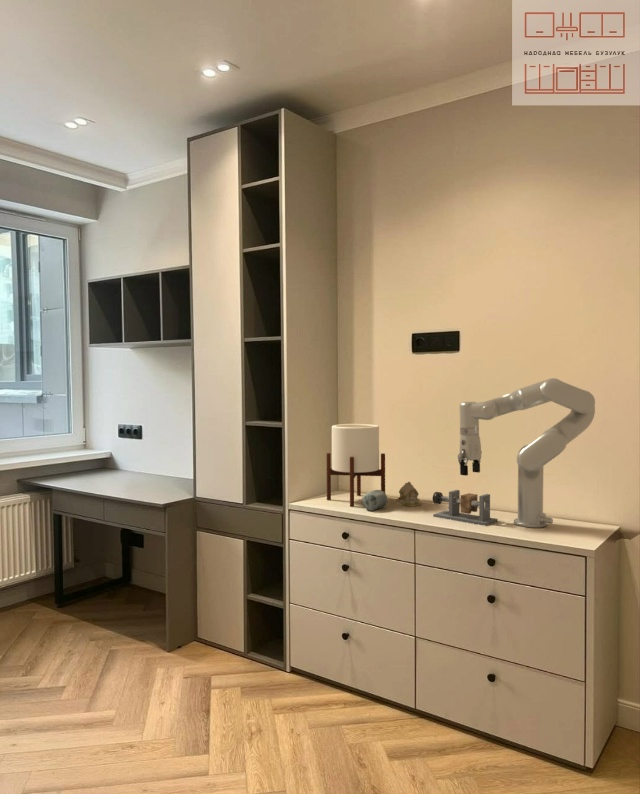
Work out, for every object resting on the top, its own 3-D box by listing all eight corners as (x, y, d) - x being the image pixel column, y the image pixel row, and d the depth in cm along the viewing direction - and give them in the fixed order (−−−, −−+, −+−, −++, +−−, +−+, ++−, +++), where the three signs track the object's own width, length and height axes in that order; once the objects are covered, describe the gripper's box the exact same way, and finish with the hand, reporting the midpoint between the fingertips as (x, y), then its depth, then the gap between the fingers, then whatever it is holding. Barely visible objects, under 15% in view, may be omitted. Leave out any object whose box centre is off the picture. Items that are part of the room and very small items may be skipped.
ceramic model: (393, 501, 294) (393, 480, 294) (415, 499, 296) (415, 479, 296) (402, 507, 280) (402, 485, 280) (426, 505, 283) (426, 484, 282)
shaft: (481, 509, 253) (481, 497, 253) (474, 511, 250) (474, 498, 249) (439, 502, 267) (439, 491, 267) (432, 504, 263) (432, 492, 263)
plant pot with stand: (359, 494, 310) (359, 423, 309) (389, 501, 292) (388, 426, 291) (322, 499, 298) (322, 425, 296) (351, 507, 279) (350, 428, 278)
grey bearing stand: (497, 521, 251) (497, 494, 251) (485, 525, 244) (485, 497, 243) (446, 512, 268) (446, 487, 267) (433, 516, 260) (433, 490, 260)
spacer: (477, 511, 255) (477, 494, 255) (469, 513, 250) (469, 496, 250) (468, 510, 258) (468, 493, 258) (460, 512, 253) (460, 495, 253)
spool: (376, 505, 267) (371, 484, 271) (360, 513, 272) (355, 492, 276) (395, 508, 276) (389, 487, 281) (378, 515, 282) (373, 495, 286)
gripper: (466, 434, 244) (467, 477, 245) (488, 430, 257) (488, 471, 257) (450, 433, 249) (451, 475, 250) (472, 430, 262) (472, 470, 262)
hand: (470, 473), depth 254 cm, fingers open, 9 cm apart
